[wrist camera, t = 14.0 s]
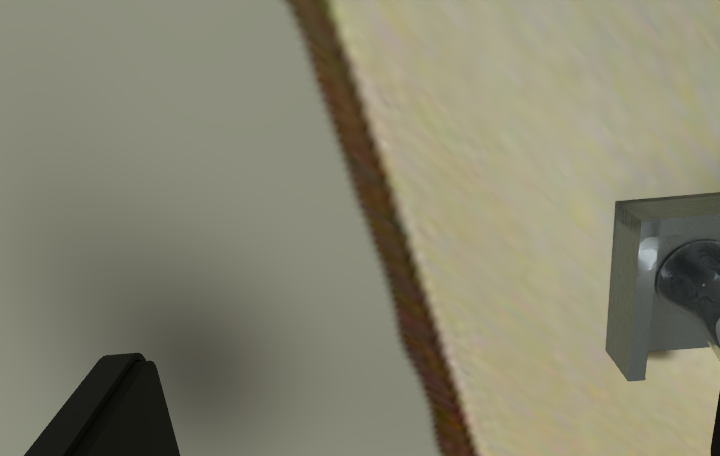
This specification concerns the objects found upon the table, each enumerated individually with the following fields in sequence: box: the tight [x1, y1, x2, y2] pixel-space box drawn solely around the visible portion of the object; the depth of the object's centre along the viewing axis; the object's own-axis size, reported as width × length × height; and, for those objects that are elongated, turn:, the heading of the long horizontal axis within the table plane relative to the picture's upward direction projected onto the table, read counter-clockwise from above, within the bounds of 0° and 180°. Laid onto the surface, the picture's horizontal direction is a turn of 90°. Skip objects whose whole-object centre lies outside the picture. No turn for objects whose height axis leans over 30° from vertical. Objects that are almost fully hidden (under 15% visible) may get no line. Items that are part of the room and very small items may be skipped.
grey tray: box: [606, 192, 720, 381], centre depth 39 cm, size 12×12×4 cm
